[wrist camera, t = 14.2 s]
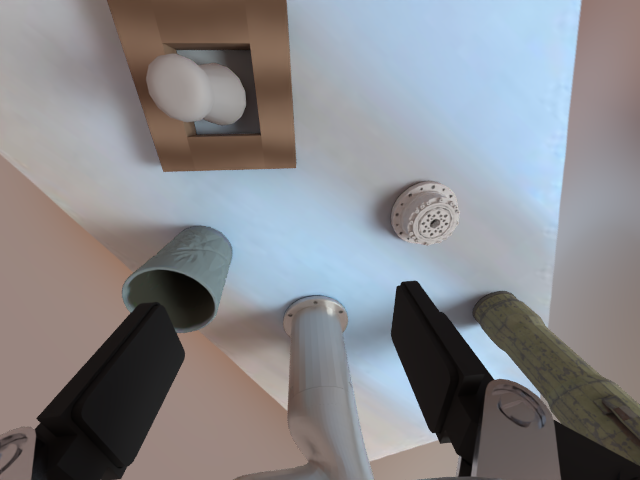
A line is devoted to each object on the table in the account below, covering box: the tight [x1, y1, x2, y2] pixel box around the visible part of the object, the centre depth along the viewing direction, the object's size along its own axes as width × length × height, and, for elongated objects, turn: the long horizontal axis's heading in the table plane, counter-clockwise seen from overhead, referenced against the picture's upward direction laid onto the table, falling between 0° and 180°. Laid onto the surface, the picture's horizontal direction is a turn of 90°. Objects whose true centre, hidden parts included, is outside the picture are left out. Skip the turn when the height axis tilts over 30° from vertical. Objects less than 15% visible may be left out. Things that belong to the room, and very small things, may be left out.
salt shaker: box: [146, 54, 246, 125], centre depth 22 cm, size 6×6×13 cm
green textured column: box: [473, 291, 640, 466], centre depth 34 cm, size 9×12×35 cm
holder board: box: [107, 0, 296, 172], centre depth 27 cm, size 16×16×3 cm
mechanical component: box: [391, 181, 460, 246], centre depth 35 cm, size 10×4×10 cm
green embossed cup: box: [122, 226, 232, 333], centre depth 32 cm, size 10×10×12 cm
